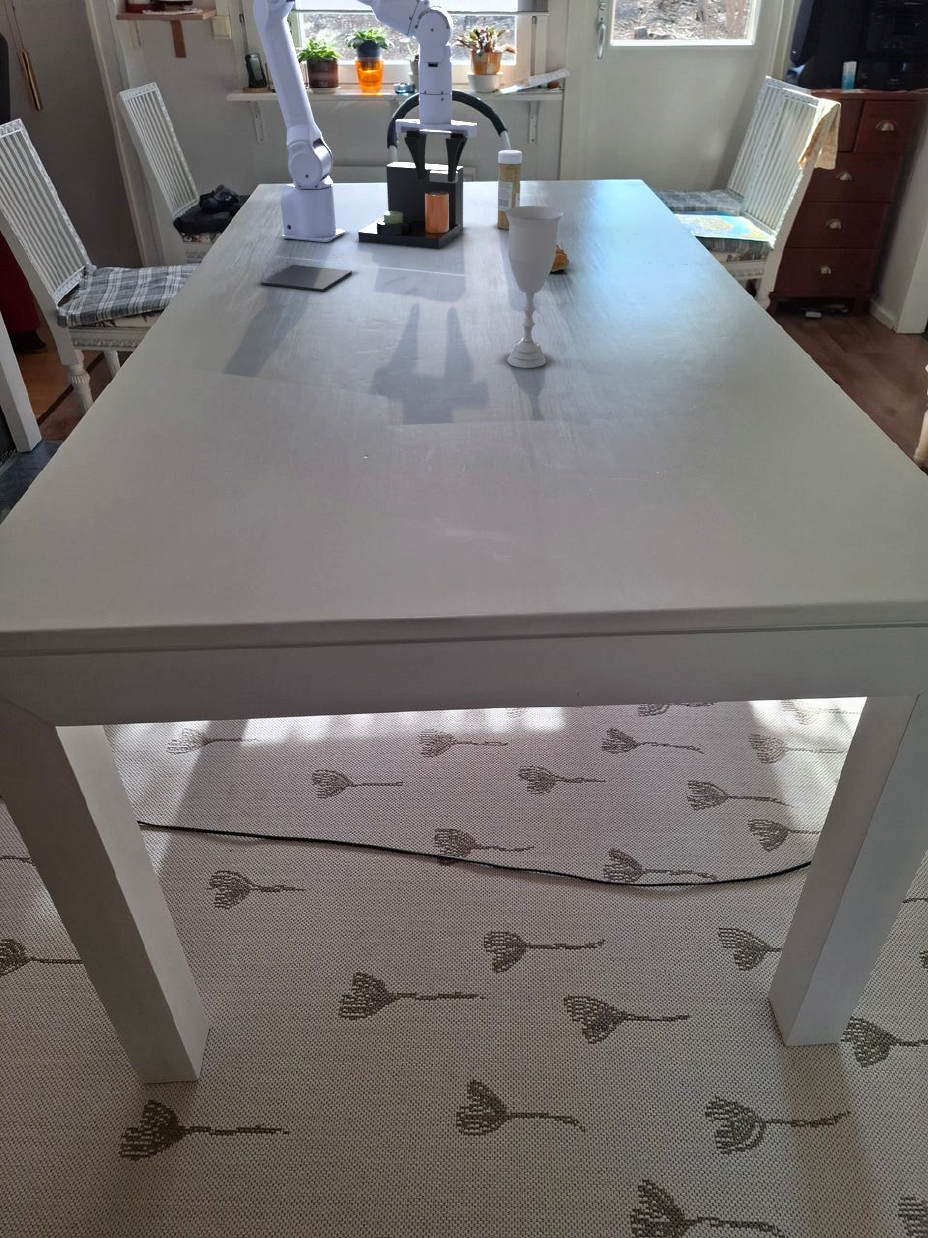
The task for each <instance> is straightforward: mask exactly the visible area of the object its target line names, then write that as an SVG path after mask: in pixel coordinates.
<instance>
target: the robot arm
mask: <svg viewBox="0 0 928 1238" xmlns="http://www.w3.org/2000/svg"><path fill="white" fill-rule="evenodd" d="M356 1H357V2H359V3H361V4H363V5H365V6H367V7H370V8H371V10H372V12H373V15H374V18H375V21H377V22H379V23H380V24H382V25H384V26H386V27H388V28H390V29H392V30H394V31H395V32H397V33H399V34H401V35H403V36H405V37H407V38H409V39H413V38H415V40H416V42H417V43H418V63H417V64H418V65H417V66H418V67H417V69H418V113H419V114H418V115H419V116H418V117H419V119H404V118H403V119H402V118H399V119H396V120H395V133H396V134H403V133H405V136H404V137H403V138H404V143H405V145H406V147H407V149H408V151H409V153H410V156H411V158H412V161H413V163H414V165H415V168H416V172H417V177H418V180H422V179H424V178H425V164H426V146H427V137H428V135H437V136H438V135H439V136H449V137H446V138H445V147H446V154H447V166H448V182H453V181H455V178H456V172H457V167H458V166H459V163H460V160H461V156H462V154H463V152H464V149H465V146H466V144H467V142H468V139H469V138H475V137H477V134H478V132H477V131H478V130H477V129H478V123H475V122H465V121H457V120H453V61H452V44H451V43H450V42H451V40H452V37H453V35H454V22H453V19H452V17H451V15H450V14H449V13H448V11H446V9H444V8H443V7H442V6H440V5H433V6H430V5H431V2H432V1H431V0H356ZM295 2H296V0H253V4H252V5H253V6H252V12H253V13H252V14H253V18H254V21H255V26H256V28H257V32H258V35H259V38H260V42H261V45H262V48H263V49H262V50H263V53H264V55H265V59H266V63H267V66H268V69H269V72H270V76H271V80H272V83H273V87H274V91H275V94H276V96H277V97H276V98H277V100H278V104H279V107H280V110H281V115H282V117H283V121H284V125H285V127H286V143H285V144H286V149H287V153H288V162H287V170H288V173H289V175H290V177H291V180H292V183H287V184H285V185H284V186H283V187H282V190H281V192H280V193H281V194H280V195H281V196H280V207H281V216H282V217H281V218H282V226H283V234H282V238H283V239H289V240H300V241H310V242H320V243H321V242H322V243H328V242H331V241H333V240H334V239H337V238H338V237H339V236H341V235H343V234H345V233H346V231H345V230H344V229H337V225H336V224H337V223H336V212H335V198H334V197H335V196H334V186H333V183H334V182H333V180H332V179H331V177H330V173H331V172H332V170H333V167H334V156H333V153H332V151H331V149H330V148H329V146H328V145H327V144H326V142H325V140H324V138H323V134H322V131H321V130H320V128H319V127H318V125H317V124H316V122H315V119H314V115H313V111H312V108H311V104H310V100H309V96H308V93H307V89H306V86H305V82H304V78H303V75H302V71H301V68H300V64H299V60H298V56H297V53H296V49H295V45H294V42H293V38H292V34H291V31H290V27H289V24H288V20H287V19H288V16H289V14H290V12H291V10H292V8H293V6H294V4H295Z"/></svg>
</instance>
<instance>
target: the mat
mask: <svg viewBox="0 0 928 1238" xmlns="http://www.w3.org/2000/svg"><path fill="white" fill-rule="evenodd" d="M352 274H353V271H352V270H348V269H347V270H345V269H339V268H338V269H337V268H329V267H328V268H326V267H318V266H317V267H316V266H307V265H297V264H292V265H290V266H288V267H286V268H285V269H283V270H281V271H279V272H277V273H275V274H274V275H272V276H270V277H268V278H266V279H265V280H263V281H261V283H260V285H262V286H268V287H279V288H287V289H298V290H303V291H304V290H306V291H315V292H322V293H323V292H325V291H326V290H328V289H329V288H331V287H333V286H334V285H335V284H337V283H339V282H341V281H342V280H344V279H345V278H347V277H348V276H350V275H352Z"/></svg>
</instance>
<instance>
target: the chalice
mask: <svg viewBox="0 0 928 1238" xmlns="http://www.w3.org/2000/svg"><path fill="white" fill-rule="evenodd" d="M506 216H507V218H508V221H509V229H508V247H507V248H508V249H507V250H508V251H507V253H508V254H507V257H508V260H509V264H510V268H511V272H512V274H513V277H514V279H515V282H516V284H517V287H518V289H519V291H520V292H522V293H523V294H525V299H526V300H525V303H524V306H523V308H522V310H523V312H524V315H525V317H524V320H523V321H522V322H521V325H522V326H523V329H524V334H523V337H522V338H521V340H518V341H516V342H515V343H514V345H513V346H512V349H511V351H510V355H509V357H508V358H507V363H508V364H509V365H511V366H514V367H516V368H522V369H531V368H533V369H534V368H539V367H542V366H544V365H545V364H546V362H547V360H546V358H545V356H544V352H543V350H542V346H541V344H540V343H539V342H538V341H536V340H535V339H534V338H533V336H532V332H533V328H534V326H535V325H536V322H535V321H534V319H533V316H534V315H533V314H534V312H535V311H536V307H535V303H534V297H535V294H537V293H539V292H541V291H542V289H543V287H544V285H545V283H546V281H547V279H548V277H549V275H550V273H551V272H552V271H551V268H552V265H553V263H554V260H555V257H556V244H557V241H558V227H559V225H558V224H559V223H560V221H561V218H562V216H563V211H562V210H560V209H557V208H554V207H550V206H549V207H548V206H540V205H523V206H522V205H520V207H514V208H510V209H508V210H506Z"/></svg>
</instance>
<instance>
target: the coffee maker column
mask: <svg viewBox="0 0 928 1238" xmlns="http://www.w3.org/2000/svg"><path fill="white" fill-rule="evenodd" d="M385 167H386V168H385V169H386V171H385V172H386V188H387V190H386V193H387V212H389V211H398V212H402V213H403V218H407V219H410V220H413V221H425V192H428V191H445V192H448V193H449V224H460V231H461V230H463V229H464V166H463V165H462V166H459V165H458V167H457V172H456V178H455V181H453V182H448V164H447V165H446V164H445V165H444V164H430V163H425V178H424V179H422V180H418V177H417V172H416V168H415V165H414V162H400V161H399V162H398V161H394V162H392V163H389V164H387V165H386V166H385Z"/></svg>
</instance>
